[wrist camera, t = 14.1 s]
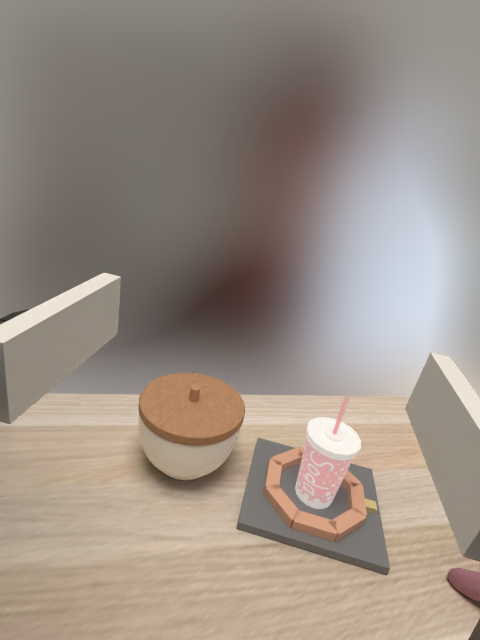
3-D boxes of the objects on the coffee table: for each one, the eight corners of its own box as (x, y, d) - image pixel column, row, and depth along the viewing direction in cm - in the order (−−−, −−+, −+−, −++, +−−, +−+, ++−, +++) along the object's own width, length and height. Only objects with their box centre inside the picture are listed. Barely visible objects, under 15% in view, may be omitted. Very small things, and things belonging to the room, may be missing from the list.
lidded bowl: (250, 454, 50) (266, 387, 46) (194, 520, 40) (208, 440, 36) (177, 414, 56) (186, 349, 51) (111, 462, 45) (115, 386, 41)
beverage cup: (278, 482, 45) (306, 387, 40) (313, 467, 49) (343, 377, 44) (313, 523, 41) (350, 422, 36) (349, 502, 45) (387, 408, 39)
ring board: (236, 528, 40) (240, 514, 39) (256, 443, 53) (259, 431, 52) (386, 575, 38) (393, 560, 37) (369, 474, 51) (374, 462, 50)
